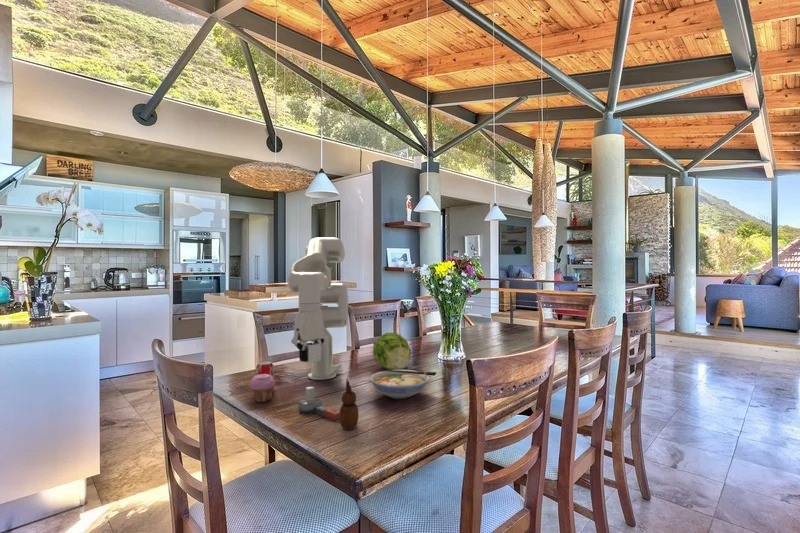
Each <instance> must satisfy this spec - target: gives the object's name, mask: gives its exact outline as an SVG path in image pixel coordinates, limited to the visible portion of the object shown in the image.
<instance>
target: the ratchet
mask: <svg viewBox="0 0 800 533" xmlns="http://www.w3.org/2000/svg"><path fill="white" fill-rule="evenodd" d="M315 393H316V390H315V386H307V387H305V398H303V399H301V400H299V401H298V413H299V414H303V415H312V414H315V415H318V416H320V417H323V418H324V419H327V420H329V421H333V422H338V421H340V409H336V408H332V407H327V406H324V405H323V401H322V399H321V398H316V397H315Z"/></svg>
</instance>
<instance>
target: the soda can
mask: <svg viewBox="0 0 800 533" xmlns="http://www.w3.org/2000/svg"><path fill="white" fill-rule="evenodd" d="M261 374H269V375H270V376H272V377H273V378H274V379H275V365H274V364H273V361H272V360H262V361H258V362H257V364H256V366H255V376H256V375H261ZM274 390H275V386H274V387H273V390H272V392H274Z"/></svg>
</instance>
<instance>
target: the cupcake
mask: <svg viewBox="0 0 800 533" xmlns="http://www.w3.org/2000/svg"><path fill="white" fill-rule="evenodd" d="M275 386H276V380H275V377H274V378H273V377H272V376H270V375H269V374H261V375H256V374H255V375H254V376H252V378H251V380H250V384H249V387H250V389H251V390H252V393H253V397H254V400H255V401H256V402H259V403H266V402H267V401H269V400H271V399H272V398H273V391H274V390H273V387H274V388H275ZM272 390H273V391H272Z"/></svg>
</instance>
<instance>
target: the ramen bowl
mask: <svg viewBox="0 0 800 533" xmlns="http://www.w3.org/2000/svg"><path fill="white" fill-rule="evenodd" d="M436 375H437V372H436V371H417V370H411V369H401V370H387V369H378V372H376V373H374V374H371V376H370V377H369V380H370V382H371V383H372V385H373V386H374V388H375V389H376V390H377V392H378V393H380V394H382V395H384V396H386V397H388V398H389V397H390V398H391V399H393V400H394V399H395V400H396V399H397V400H404V399H407V398H409V397H412V396H415V395H417V394H418V393H420V392H421V391H423V389H424V388H425V387H426V385H427V383H428V380H429V376H436Z"/></svg>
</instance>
